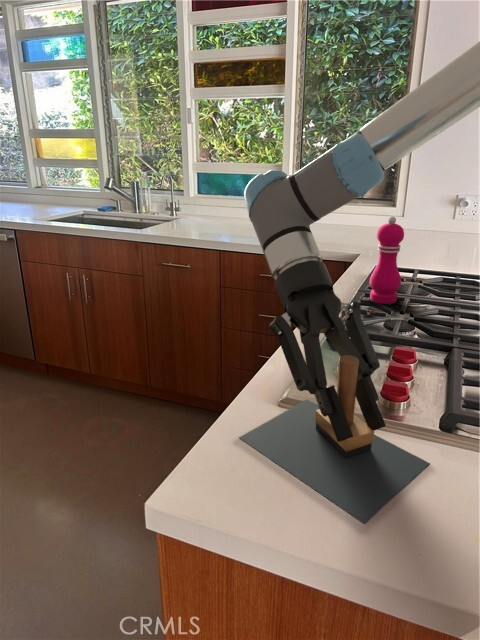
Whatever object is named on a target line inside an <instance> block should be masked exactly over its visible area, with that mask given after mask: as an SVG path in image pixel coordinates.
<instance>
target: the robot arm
mask: <svg viewBox="0 0 480 640" xmlns="http://www.w3.org/2000/svg"><path fill="white" fill-rule="evenodd" d="M478 108H480V40H479V41H477V42H476V43H475V44H474V45H472V46H471V47H469V48H468V49H466V51H464V52H463V53H461V54H460V55H459V56H457V57H456V58H454V60H452V61H450V62H449V63H448V64H446V65H445V66H444V67H443V68H441V69H440V70H439V71H437V72H436V73H434V74H433V75H432V76H430V77H429V78H427V79H426V80H425V81H423V82H422V83H421V84H419V85H418V86H417V87H415V88H414V89H413V90H411V91H410V92H409V93H408V94H406V95H405V96H403V97H401V98H400V99H398V101H396V102H395V103H393V104H392V105H390V107H388V108H387V109H385V110H384V111H383V112H381V113H380V114H379V115H377V116H376V117H375V118H373V119H372V120H371V121H369V122H368V123H366V124H365V125H363V127H361V128H359V130H357V131H356V132H354V133H353V134H351V135H350V136H348V137H347V138H346V139H345V140H342V141H340V142H338V143H337V144H335V145H334V146H333V147H331V148H330V149H329V150H327V151H325V152H324V153H323V154H321V155H319V156H318V157H316V158H315V159H313V160H312V161H310V162H309V163H308V164H306V165H305V166H303V167H302V168H300V169H299V170H297V171H296V172H293V173H292V174H290V175H288V174H287V173H286V172H285V171H283V170H279V169H271V170H268V171H267V172H266V173H263V172H262V173H259V174H257V175H256V176H254V177H253V178H252V179H251V180H250V181H249V182H248V184H247V185H246V187H245V189H244V193H243V197H244V201H245V205H246V208H247V212H248V219H249V220H250V222H251V225H252V226H253V230H254V232H255V235H256V237H257V239H258V242H259V245H260V247H261V250H262V254H263V256H264V258H265V260H266V261H265V262H266V264H267V267H268V269H269V272H270V276H271V277H272V279H273V280H274V287H275V289H276V292H277V294H278V297H279V301H280V303H281V304H282V305H283V314H281V315H277V316H276V317H275V318H274V319H273V320H272V321H271V323H270V324H269V329H270V331H271V332H272V334H274V336H275V337H276V338H277V340H278V342H279V345H280V347H281V351H282V353H283V356H284V358H285V360H286V364H287V365H288V368H289V371H290V374H291V376H292V379H293V381H294V384H295V387H296V389H297V390H298V391H299V392H305V391H307V392H308V393H309V394H310V395H313V396H314V397H315V400H316V404H317V405H319V408H320V411H321V413H322V415H323V416H324V417H325V416H328V417H329V420H330V422H331V425H332V428H333V430H334V433H335V436H336V438H337V441H338V442H340V441H343V440H346V439H348V438H351V437H353V434H352V432H351V429H350V426H349V424H348V421H347V418H346V416H345V413H344V411H343V408H342V405H341V403H340V400H339V398H338V395H337V389H336V388H335V385H331V386H328V380H327V376H326V375H327V374H326V370H325V363H324V359H323V357H324V356H323V352H322V347H321V342H320V340H321V339H320V335H321V334H323V335H324V336H325V338H326V339H327V340H329V341H330V342H331V344H332V346H333V347H334V349H335V351H336V352H337V354H338V355H339V358H340V357H341V356H345V355H350V356H354V357H356V358H358V359H359V366H358V377H357V388H356V398H355V399H356V401H357V403H358V406H359V408H360V411H361V413H362V416H363V419H364V421H365V424H366V425H367V426H369V427H370V428H371V429H372V430H373V431H374V432H375V431H377V430H380V429H383V428H385V427H387V425H386V422H385V420H384V418H383V415H382V413H381V410H380V408H379V406H378V403H377V401H379V394H378V392H377V389H376V387H375V384H374V382H373V379H372V375H373V374H374V372H375V371H376V370H378V369H380V367H381V364H380V361H379V359H378V356H377V354H376V351H375V348H374V346H373V343H372V341H371V338H370V336H369V333H368V331H367V329H366V325H365V323H364V321H363V318H362V311H361V309H362V308H361V304H360V303H359V302H358V301H353V302H352V303H346V302H343V301H342V300H341V299H340V298H339V296H337V294H336V293H335V291H334V283H333V281H332V277H331V275H330V273H329V271H328V268H327V266H326V264H325V263H324V262H323V256H322V253H321V251H320V248H319V246H318V244H317V241H316V240H315V237H314V235H313V232H312V230H311V227H310V226H311V225H313V224H314V223H316V222H318V221H320V220H321V219H323V218H324V217H325V216H327V215H330V214H331V213H333V212H335V211H336V210H339V209H340V208H341V207H343V206H345V205H347V204H349V203H351V202H352V201H355V200H356V199H357V198H359V197H361V196H362V197H363V196H365V195H367V193H368V192H370V191H371V190H372V189H374V188H375V187H377V186H378V185H380V184H381V183H382V182H383V181H384V179H385V172H384V171H386V170H387V169H389V168H390V167H392V166H393V165H395V164H396V163H398V162H399V161H401V160H402V159H404V158H405V157H406V156H408V155H410V154H411V153H413V152H414V151H415V150H417V149H418V148H420V147H423V145H425V144H426V143H428V142H429V141H431V140H432V139H433V138H435V137H437V136H438V135H440V134H441V133H442V132H444V131H446V130H447V129H449V128H450V127H452V126H454V125H455V124H456V123H457V122H459V121H460V120H462V119H463V118H465V117H466V116H469V114H471V113H472V112H474V111H475V110H477V109H478ZM340 314H341V317H340ZM342 320H343V321H344V322H343V321H342ZM292 326H294V327H295V328H296V329H297V330H298V331H299V338H300V343H301V344H302V345H303V352H304V355H303V352H302V349H301V347H300V344H299V342H298V339H297V337H296V334H295V332H294V329H293V328H292ZM346 330H347V331H346ZM327 386H328V387H327Z"/></svg>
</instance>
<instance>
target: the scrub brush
mask: <svg viewBox="0 0 480 640" xmlns="http://www.w3.org/2000/svg"><path fill="white" fill-rule="evenodd" d="M358 366H359V359H358V358H356V357H354V356H350V355H345V356H341V357H340V356H339V360H338V370H337V383H336V392H337V395H338V398H339V400H340V403H341V405H342V408H343V411H344V413H345V416H346V418H347V421H348V424H349V426H350V429H351V432H352V434H353V437H351V438H348V439H346V440H343V441H340V442H338V441H337V438H336V436H335V433H334V430H333V428H332V425H331V422H330V420H329V417H328V416H325V417H324V416H323V415H322V413H321V411H320V409H319V410H316V413H315V422H316V429H317V430H318V431H319V432H320V433H321V434H322V435H323V436H324V437H325V438H326V439H327V440H328V441H329V442H330V443H331V444H332V445H333V446H334V447H335V448H336V449H337V450H338V451H339V452H340V453H341V454H342V455H343V456H344V457H345V458H349V457H352V456H355V455H358V454H361V453H364V452H367V451H370V450H371V445H372V443H373V439H374V435H375V431H373V430H372V429H371V428H370V427H369V426H367V424H366V422H364V421H363V420H362V419H361V418H359V417H358V416H357V415H356V414H355V408H356V399H357V398H356V388H357V377H358Z"/></svg>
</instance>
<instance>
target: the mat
mask: <svg viewBox="0 0 480 640" xmlns="http://www.w3.org/2000/svg"><path fill="white" fill-rule="evenodd" d="M319 409H320V408H319V405H318V403H315V402H313V401H311V400H309V399H305V400H303V401H301V402H300V403H297V404H296V405H294V406H293V407H292V406H291V408H289V409H287V410H285V411H283V412H281V413H279V414H278V415H276V416H275V417H273V418H271V419H269V420H267V421H266V422H263V423H262V424H260V425H259V426H256V427H255V428H253V429H252V430H250V431H248V432H246V433H244V434H242V435H241V436H239V437H238V439H240V440H241V441H242V442H244V443H245V444H247V445H248V446H250V447H251V448H253V449H254V450H255V451H257V452H258V453H260V454H261V455H263V456H264V457H266V458H267V459H269V460H270V461H272V462H273V463H274V464H276V465H277V466H279V467H280V468H282V469H283V470H285V471H286V472H287V473H289V474H290V475H292V476H293V477H295V478H296V479H298V480H299V481H301V482H302V483H304V484H305V485H307V486H308V487H310V489H312V490H314V491H315V492H317V493H318V494H320V495H321V496H323V497H324V498H325V499H327V500H328V501H330V502H331V503H333V504H334V505H335V506H337V507H339V508H340V509H341V510H343V511H345V512H346V513H347V514H349V515H350V516H352V517H353V518H355V519H356V520H358V521H359V522H360V523H362V524H363V525H365V524H366V523H367V522H368V521H369V520H370V519H372V518H373V517H374V516H375V515H376V514H377V513H378V512H379V511H381V509H383V508H384V507H385V506H386V505H387V504H388V503H389V502H391V500H393V498H395V497H396V496H397V494H399V493H400V492H401V491H403V489H404V488H405V487H406V486H407V485H408V484H410V483H411V482H412V481H413V480H414V479H415V478H416V477H417V476H418V475H420V474H421V472H423V471H424V470H425V469H426V468H427V467H428V466H429V465H430V464H431V463H430V462H428V461H427V460H424V459H423V458H420V457H419V456H417V455H415V454H413V453H411V452H409V451H407V450H405V449H403V448H402V447H400V446H397V445H396V444H393V443H392V442H390V441H388V440H386V439H384V438H382V437H380V436H379V435H376V434H374V439H373V443H372V445H371V450H370V451H367V452H364V453H361V454H358V455H355V456H352V457H349V458H345V457H344V456H343V455H342V454H341V453H340V452H339V451H338V450H337V449H336V448H335V447H334V446H333V445H332V444H331V443H330V442H329V441H328V440H327V439H326V438H325V437H324V436H323V435H322V434H321V433H320V432H319V431H318V430H317V429H316V422H315V413H316V410H319Z"/></svg>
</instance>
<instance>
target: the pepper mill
mask: <svg viewBox="0 0 480 640" xmlns="http://www.w3.org/2000/svg"><path fill="white" fill-rule="evenodd" d="M396 222H397V218H396V217H395V216H390V217H388V219H387V223H384V224H382V225H381V226H379V228H378V229H377V231H376V239H377V241H378V242H379V243H378V244H377V251H378V252H379V253H378V261H377V263H376V265H375V268H374V269H373V271H372V273H371V275H370V278H369V282H368V283H369V287H370V288H371V289H372V290H370V293H369V294H370V295H369V299H370V300H371V301H372V302H373V303H377V304H382V305H383V304H384V305H388V304H389V305H391V304H394V303H396V302H397V300H398V292H397V291H398V290H399V289H400V288H401V286H402V278H401V274H400V271H399V268H398V265H397V261H398V260H397V259H398V254H399V252H401V243H402V241H403V240H404V238H405V230H404V228H403V227H402V226H401V225H400V224H398V223H396Z"/></svg>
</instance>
